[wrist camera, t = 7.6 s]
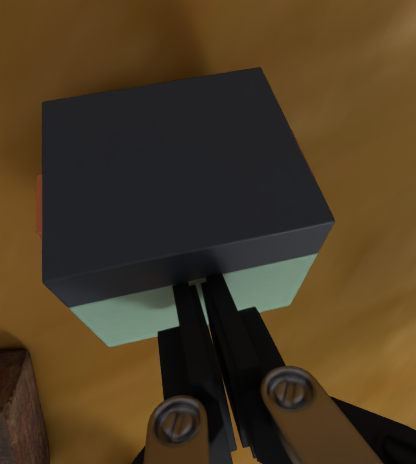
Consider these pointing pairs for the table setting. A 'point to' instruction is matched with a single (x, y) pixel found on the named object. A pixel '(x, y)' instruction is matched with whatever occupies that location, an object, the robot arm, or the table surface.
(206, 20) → the table surface
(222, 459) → the robot arm
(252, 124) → the lunchbox
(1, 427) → the brick
